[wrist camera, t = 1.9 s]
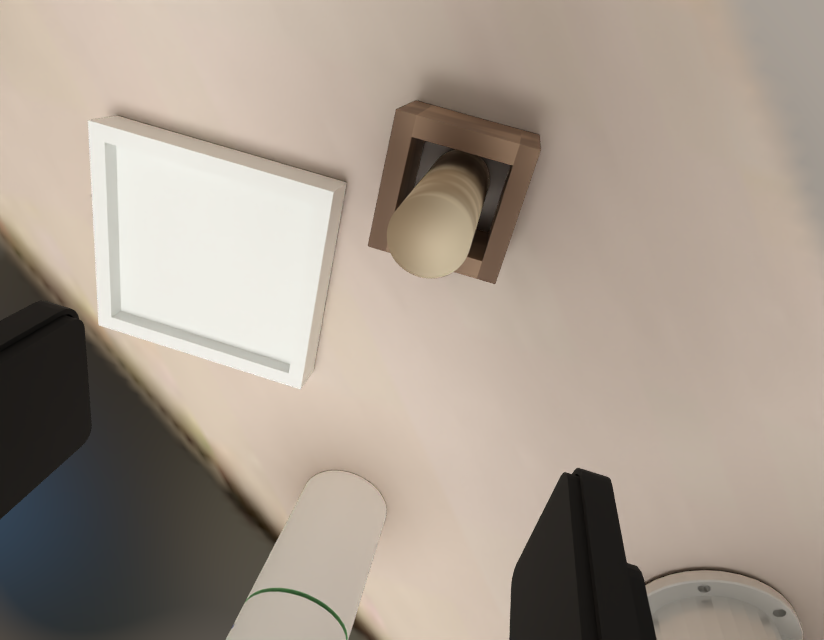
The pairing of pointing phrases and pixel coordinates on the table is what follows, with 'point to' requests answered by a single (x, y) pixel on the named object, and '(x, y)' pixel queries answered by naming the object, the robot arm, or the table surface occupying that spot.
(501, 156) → the square wooden box
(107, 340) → the table surface
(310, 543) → the cylindrical container
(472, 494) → the table surface
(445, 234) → the dowel
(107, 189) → the tray
